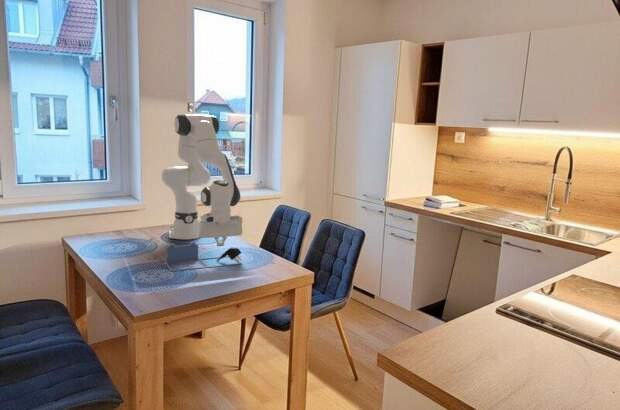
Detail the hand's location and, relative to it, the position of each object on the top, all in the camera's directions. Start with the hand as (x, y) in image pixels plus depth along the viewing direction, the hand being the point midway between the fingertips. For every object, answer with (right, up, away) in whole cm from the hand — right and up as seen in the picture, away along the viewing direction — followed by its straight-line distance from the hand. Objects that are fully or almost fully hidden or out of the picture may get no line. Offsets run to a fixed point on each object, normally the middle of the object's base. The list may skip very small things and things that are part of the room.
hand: (220, 246), depth 204 cm
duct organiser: (-7, -8, -2) cm, 10 cm away
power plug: (0, -10, +1) cm, 10 cm away
